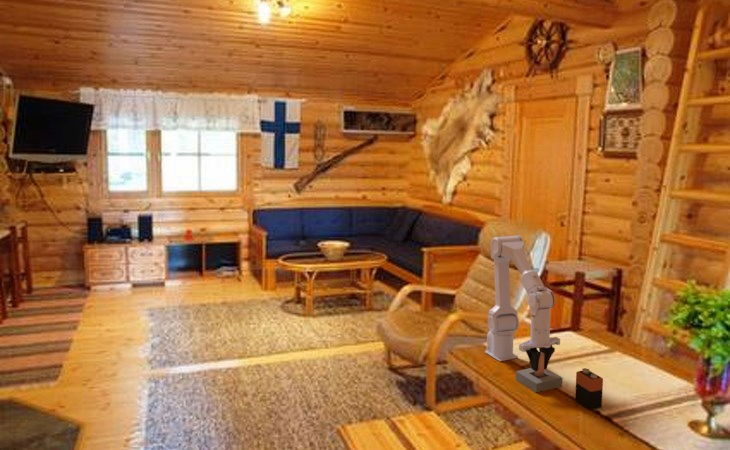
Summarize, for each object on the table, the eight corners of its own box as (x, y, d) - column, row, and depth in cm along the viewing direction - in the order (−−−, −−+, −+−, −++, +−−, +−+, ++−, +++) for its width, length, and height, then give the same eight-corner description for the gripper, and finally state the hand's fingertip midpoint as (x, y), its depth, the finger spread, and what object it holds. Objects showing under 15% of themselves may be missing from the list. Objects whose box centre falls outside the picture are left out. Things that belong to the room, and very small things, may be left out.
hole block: (515, 379, 180) (516, 371, 179) (540, 374, 184) (540, 365, 183) (536, 392, 171) (536, 383, 170) (562, 386, 174) (562, 377, 174)
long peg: (531, 373, 177) (532, 352, 176) (539, 372, 179) (540, 351, 177) (538, 377, 175) (538, 356, 174) (545, 375, 176) (546, 354, 175)
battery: (586, 397, 167) (588, 366, 165) (602, 408, 160) (604, 375, 159) (574, 400, 166) (575, 368, 164) (589, 410, 159) (591, 377, 158)
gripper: (529, 335, 168) (528, 378, 170) (567, 328, 173) (566, 369, 175) (515, 328, 174) (514, 369, 176) (552, 321, 180) (550, 361, 182)
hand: (539, 369), depth 176 cm, fingers closed on long peg, 3 cm apart
